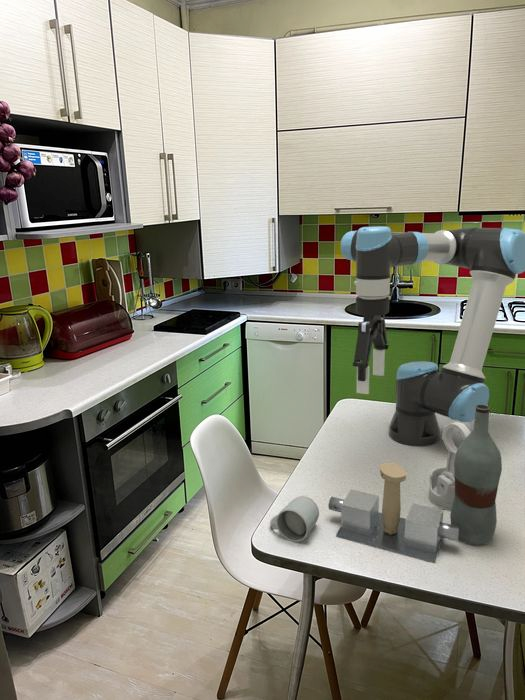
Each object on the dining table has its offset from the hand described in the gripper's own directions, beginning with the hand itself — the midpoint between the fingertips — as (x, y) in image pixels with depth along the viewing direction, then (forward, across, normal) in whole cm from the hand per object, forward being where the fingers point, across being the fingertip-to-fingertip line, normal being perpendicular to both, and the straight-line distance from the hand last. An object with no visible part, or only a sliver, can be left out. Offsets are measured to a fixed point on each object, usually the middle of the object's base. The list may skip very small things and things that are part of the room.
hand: (370, 383), depth 127 cm
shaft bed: (+28, +16, +10) cm, 34 cm away
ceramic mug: (+29, +24, -11) cm, 39 cm away
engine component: (+29, -3, +20) cm, 35 cm away
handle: (+28, +16, +9) cm, 34 cm away
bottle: (+29, +9, +26) cm, 40 cm away
